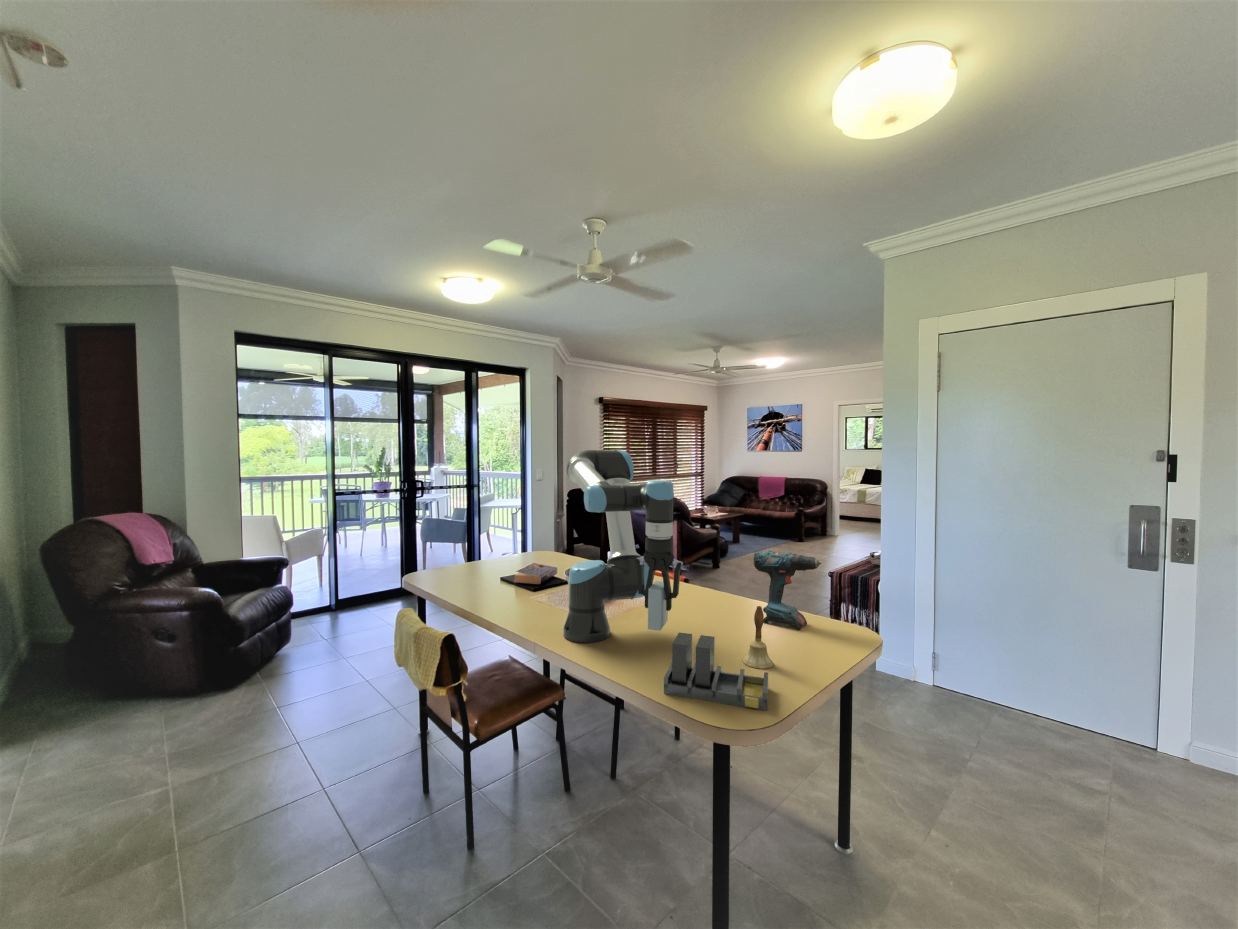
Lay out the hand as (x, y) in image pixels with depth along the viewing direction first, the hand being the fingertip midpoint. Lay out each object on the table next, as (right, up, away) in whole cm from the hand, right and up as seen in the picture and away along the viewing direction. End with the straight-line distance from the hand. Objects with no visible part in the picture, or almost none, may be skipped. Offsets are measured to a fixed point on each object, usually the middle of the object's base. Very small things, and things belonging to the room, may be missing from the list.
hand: (657, 620), depth 133 cm
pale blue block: (0, -1, 0) cm, 1 cm away
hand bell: (+29, -13, +3) cm, 32 cm away
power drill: (+48, -12, +34) cm, 60 cm away
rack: (+14, -13, -14) cm, 23 cm away
